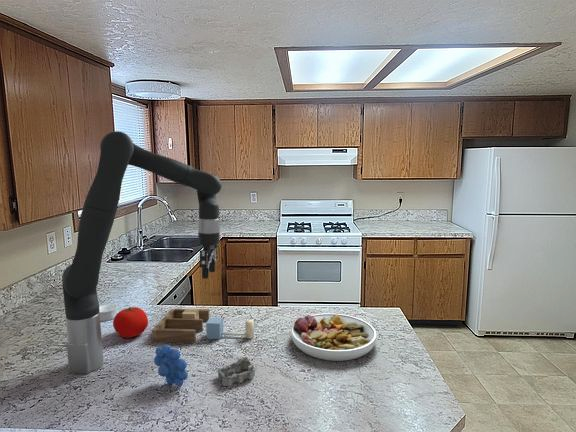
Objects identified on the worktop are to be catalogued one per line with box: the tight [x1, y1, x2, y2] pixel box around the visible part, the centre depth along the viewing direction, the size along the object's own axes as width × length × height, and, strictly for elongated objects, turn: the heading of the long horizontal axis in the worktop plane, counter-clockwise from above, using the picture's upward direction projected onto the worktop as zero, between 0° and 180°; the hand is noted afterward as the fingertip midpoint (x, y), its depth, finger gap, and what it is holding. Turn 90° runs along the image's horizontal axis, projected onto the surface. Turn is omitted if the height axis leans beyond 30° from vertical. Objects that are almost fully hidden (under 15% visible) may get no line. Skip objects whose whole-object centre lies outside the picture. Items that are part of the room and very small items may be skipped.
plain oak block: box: [182, 308, 199, 319], centre depth 150 cm, size 5×5×6 cm
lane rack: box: [151, 308, 210, 344], centre depth 145 cm, size 20×16×4 cm
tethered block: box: [205, 317, 255, 340], centre depth 140 cm, size 5×17×6 cm, turn 87°
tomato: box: [112, 306, 149, 339], centre depth 141 cm, size 11×12×10 cm
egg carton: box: [215, 356, 257, 387], centre depth 114 cm, size 11×8×4 cm
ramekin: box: [99, 303, 119, 322], centre depth 157 cm, size 9×9×4 cm
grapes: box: [153, 343, 189, 387], centre depth 109 cm, size 12×7×12 cm, turn 67°
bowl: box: [290, 313, 377, 362], centre depth 135 cm, size 30×30×8 cm
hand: (208, 274), depth 137 cm, fingers open, 8 cm apart
